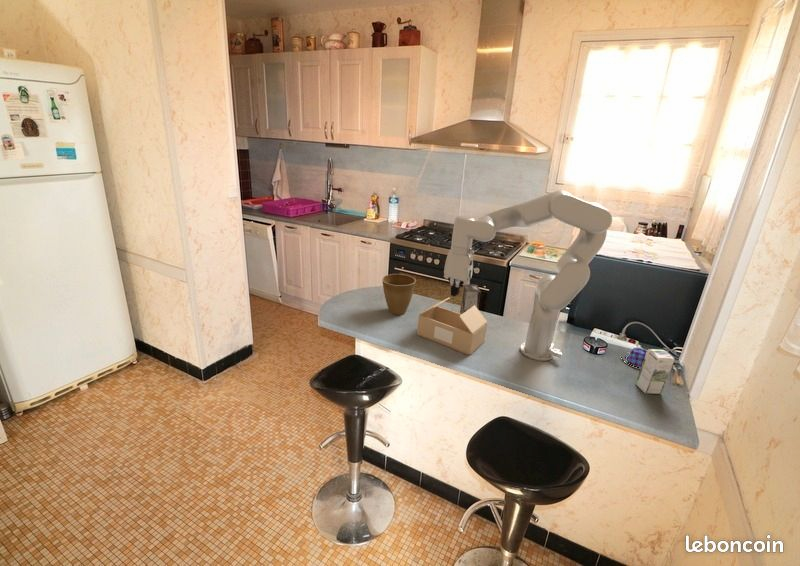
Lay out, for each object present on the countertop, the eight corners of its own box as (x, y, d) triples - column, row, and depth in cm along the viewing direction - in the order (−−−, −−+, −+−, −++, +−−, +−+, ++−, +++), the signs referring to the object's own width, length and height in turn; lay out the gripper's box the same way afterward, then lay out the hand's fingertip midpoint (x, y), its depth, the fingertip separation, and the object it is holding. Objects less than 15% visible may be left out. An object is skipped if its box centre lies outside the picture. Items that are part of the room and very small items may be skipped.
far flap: (450, 297, 161) (449, 297, 161) (433, 307, 151) (433, 306, 151) (436, 304, 166) (435, 304, 166) (419, 314, 156) (419, 314, 156)
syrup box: (650, 384, 137) (663, 348, 131) (661, 395, 131) (675, 358, 126) (634, 383, 136) (647, 348, 131) (645, 394, 131) (658, 357, 125)
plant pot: (414, 306, 185) (417, 275, 179) (411, 320, 171) (413, 287, 165) (384, 303, 187) (385, 271, 181) (377, 316, 173) (379, 283, 167)
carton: (484, 342, 157) (487, 322, 154) (469, 356, 147) (472, 335, 143) (433, 323, 170) (435, 305, 166) (416, 334, 159) (418, 315, 156)
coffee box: (476, 326, 170) (481, 292, 164) (461, 325, 170) (466, 291, 164) (473, 316, 178) (477, 284, 173) (459, 315, 178) (463, 283, 173)
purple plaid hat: (647, 356, 155) (651, 345, 153) (660, 373, 144) (665, 361, 142) (615, 352, 157) (619, 341, 155) (626, 368, 146) (630, 356, 144)
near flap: (458, 316, 145) (459, 315, 145) (474, 305, 155) (474, 305, 155) (471, 333, 144) (472, 333, 143) (486, 321, 154) (487, 321, 153)
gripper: (483, 252, 143) (476, 298, 150) (448, 243, 151) (442, 287, 158) (474, 256, 138) (467, 303, 144) (438, 247, 145) (433, 292, 152)
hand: (454, 294), depth 151 cm, fingers closed
